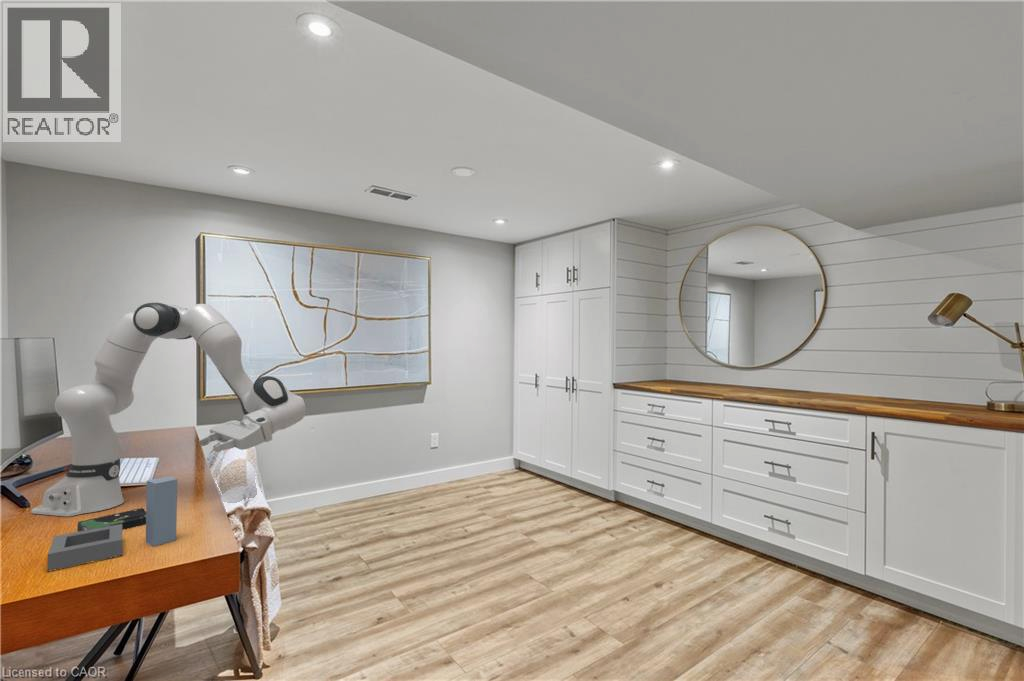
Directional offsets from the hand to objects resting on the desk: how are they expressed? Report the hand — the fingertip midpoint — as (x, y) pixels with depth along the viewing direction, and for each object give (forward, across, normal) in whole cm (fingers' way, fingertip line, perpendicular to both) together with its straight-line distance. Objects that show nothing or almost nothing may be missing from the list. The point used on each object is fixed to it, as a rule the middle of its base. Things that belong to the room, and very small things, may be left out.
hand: (207, 446), depth 134 cm
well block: (+31, -2, +14) cm, 34 cm away
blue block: (+18, +3, +18) cm, 25 cm away
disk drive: (+22, -19, +19) cm, 34 cm away
